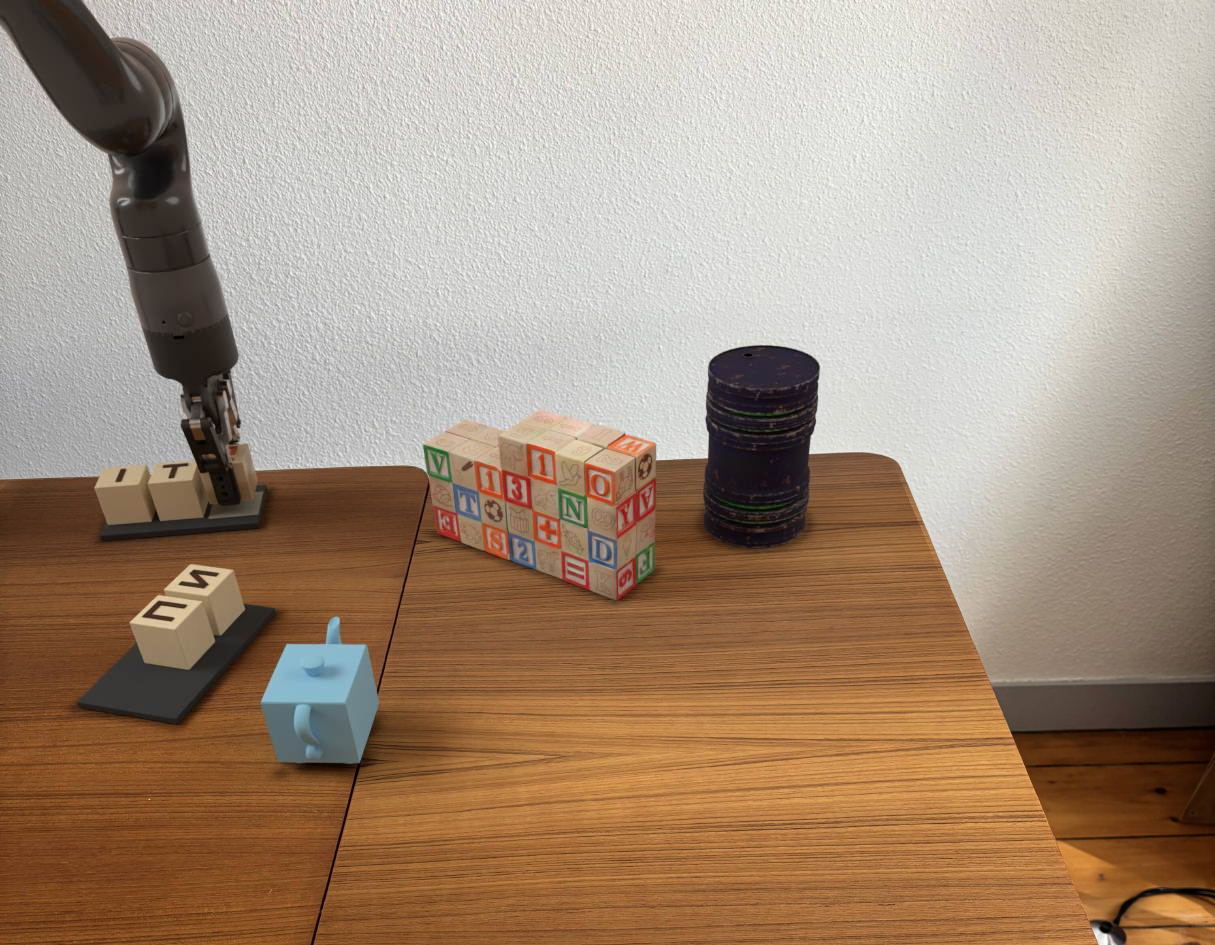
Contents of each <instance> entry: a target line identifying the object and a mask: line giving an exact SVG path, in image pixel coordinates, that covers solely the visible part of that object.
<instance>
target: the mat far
mask: <svg viewBox="0 0 1215 945" xmlns="http://www.w3.org/2000/svg"><path fill="white" fill-rule="evenodd" d="M94 491H95V493H96V496H97V499H98V501H99V505H100V507H101V511H102V513H103V515H104V518H105V521H104V522H105V523H104V524H103V527H102V529H101V532H100V534H99V538H100V540H101V542H108V541H119V540H120V541H121V540H128V539H129V540H131V539H145V538H156V537H169V536H179V535H181V536H182V535H193V534H205V533H217V532H218V533H219V532H230V531H242V530H254V529H259V528H260V524H261V520H262V515H263V510H264V508H265V507H264V506H265V502H266V498H267V493H268V486H267V484H257V486H256V490H255V494H254V498H253V501H244V502H240V503H239V504H238V505H228V506H221V505H219V504H209V501H208V497H207V494H206V491H205V487H204V484H203V481H202V477H201V474H200V471H199V469H198V466H197V464H196V462H195V460H186V461H174V462H162V463H161V462H160V463H155V465H154V466H153V469H152V472H150V470H149V467H148V465H147V464H137V465H123V466H111V467H103V469H102V471H101V473H100V475H99V477H98V479H97V482H96V483H95V486H94Z"/></svg>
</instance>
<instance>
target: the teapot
mask: <svg viewBox="0 0 1215 945" xmlns="http://www.w3.org/2000/svg"><path fill="white" fill-rule="evenodd" d="M340 628H341V618H340V617H339V616H334V617H332V618H331V619H330V620H329V622H328V624H327V630H326V639H325V643H286V645H285V647H284V649H283V651H282V654H281V656H280V658H279V660H278V662H277V664H276V666H275V669H274V671H273V673H272V675H271V677H270V680H269V681H268V684H267V686H266V689H265V691H264V694H263V696H262V698H261V701H260V703H259V704H260V708H261V711H262V713H263V717H264V720H265V723H266V727H267V731H268V734H269V737H270V741H271V744H272V747H273V750H274V754H275V757H276V761H277V763H296V764H306V763H314V764H315V763H319V764H320V763H321V764H322V763H324V764H325V763H326V764H345V765H352V764H360V763H361V760H362V757H363V754H364V751H365V748H366V745H367V743H368V740H369V735H370V733H371V730H372V726H373V723H374V721H375V717H376V714H377V711H378V708H379V705H380V700H379V696H378V691H377V685H376V682H375V677H374V676H375V675H374V671H373V666H372V663H371V657H370V653H369V648H368V645H367V644H365V643H364V644H351V643H350V644H345V643H343V642H342V639H341V632H340V630H341V629H340Z"/></svg>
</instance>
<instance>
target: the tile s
mask: <svg viewBox="0 0 1215 945" xmlns="http://www.w3.org/2000/svg"><path fill="white" fill-rule="evenodd" d="M229 450H230V455H231V459H232V461H233V465H232V466H233V469H234V473H235V476H236V480H237V484H238V487H239V491H240V494H241V501H240V502H244V501H253V498H254V494H255V490H256V486H257V485H258V482H259V480H258V476H257V473H256V470H255V465H254V461H253V457H252V454H251V449H250V446H249V443H239V444H235V445H229ZM209 456H210V457H216V456H215V455H213V454H209ZM200 474H201V477H202V481H203V484H204V487H205V491H206V494H207V497H208V501H209V504H218V502H217V499H216V496H215V492H214V489H213V486H212V482H211V479H210V475H209V472H208V473H200Z"/></svg>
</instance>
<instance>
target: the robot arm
mask: <svg viewBox="0 0 1215 945" xmlns="http://www.w3.org/2000/svg"><path fill="white" fill-rule="evenodd" d="M0 27H1V29H2V30H3V31H4V32H5V33H6V35H7V36H8V38H9V39H10V40H11V42H12V44H13V45H14V46H15V49H16V50H17V52H18V54H19V55H20V57H21V59H22V60H23V63H24V64H25V65H26V66H27V68H28V69H29V71H30V72H31V74H32V76H33V77H34V78H35V80H36V81H37V83H38V84H39V86H40V87H41V89H42V90H43V91H44V93H45V95H46V96H47V97H48V99H49V100H50V102H51V103H52V105H53V106H54V107H55V108H56V110H57V111H58V112H59V114H60V115H61V117H63V119H64V120H65V121H66V123H68V125H70V127H71V128H72V129H73V130H74V131H75V132H76V133H77V134H78V135H80V137H81V138H82V139H84V140H85V141H86V142H87V143H89V145H91V146H93V147H94V148H95V149H97V150H99V151H101V152H102V153H104V154H107V158H108V162H109V166H110V171H111V178H112V182H111V189H110V194H109V199H108V200H109V201H108V202H109V203H108V204H109V211H110V212H109V213H110V216H111V220H112V223H113V224H112V225H113V228H114V231H115V233H116V237H117V240H118V241H117V242H118V244H119V248H120V251H121V254H122V257H123V260H124V263H125V268H126V271H127V278H128V283H129V288H130V293H131V297H132V300H133V301H132V302H133V303H134V307H135V310H136V313H137V316H138V317H137V318H138V319H139V323H140V326H141V329H142V333H143V337H144V339H145V342H146V346H147V348H148V352H149V355H150V359H151V362H152V366H153V369H154V371H155V372H156V374H158V375H159V376H160V377H162V378H164V379H167V380H173V381H176V382H177V383H179V384H180V385H181V386H182V393H181V394H180V395H179V398H180V399H179V400H180V404H181V409H182V412H183V413H184V415H185V416H186V418H181V420H180V428H181V431H182V433H183V435H184V438H185V440H186V442H187V445H188V447H189V450H190V452H191V455H192V457H193V459H194V461H195V462H196V464H197V466H198V469H199V471H200V473H208V472H209V475H210V479H211V482H212V486H213V489H214V492H215V496H216V499H217V502H218V504H219V505H221V506H228V505H238V504H239V503H240V501H241V494H240V491H239V487H238V484H237V480H236V476H235V473H234V469H233V466H232V465H233V461H232V459H231V455H230V450H229V445H235V444H240V442H241V433H240V432H239V429H241V426H242V421H241V419H240V414H239V408H238V405H237V404H238V402H237V399H236V393H235V388H234V384H233V379H232V369H233V368H234V367H236V365H237V364H238V361H239V359H240V354H239V350H238V347H237V343H236V339H235V335H234V331H233V327H232V326H233V325H232V323H231V318H230V315H229V310H228V308H227V307H228V306H227V304H226V299H225V296H224V291H223V287H222V283H221V280H220V278H219V275H218V272H217V269H216V267H215V265H214V263H213V259H212V255H211V253H210V248H209V244H208V240H207V237H206V233H205V229H204V225H203V221H202V218H201V215H200V211H199V207H198V205H197V201H196V198H195V194H194V188H193V181H192V180H193V179H192V168H191V161H190V160H191V159H190V153H189V145H188V144H189V143H188V136H187V130H186V123H185V116H184V112H183V107H182V104H181V103H182V102H181V100H180V96H179V92H178V89H177V86H176V83H175V81H174V79H173V76H172V74H171V72H170V70H169V68H168V66H167V65H166V63H165V62H164V61H163V60H162V58H161V57H160V55H158V54H157V53H156V51H154V50H153V49H152V48H151V47H150V46H148V45H147V44H145V43H144V42H142V41H139V40H138V39H135V38H131V37H128V36H127V37H125V36H116V37H115V36H114V37H111V38H110V36H109V35H108V33H107V32H106V30H105V29H104V28H103V27H102V25H101V24H100V22H99V21H98V20H97V18H96V17H95V16H94V14H93V13H92V12H91V10H90V9H89V8H88V6H87V5H86V3H85V2H84V1H83V0H0ZM209 454H213V455H215V456H216V457H210V456H209Z"/></svg>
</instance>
